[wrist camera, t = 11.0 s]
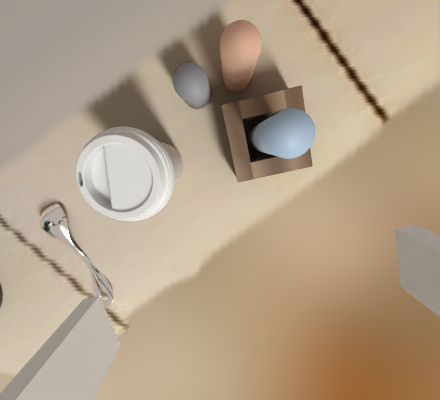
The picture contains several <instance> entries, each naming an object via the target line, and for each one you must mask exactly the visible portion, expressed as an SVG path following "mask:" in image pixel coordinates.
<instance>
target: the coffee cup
mask: <svg viewBox="0 0 440 400" xmlns="http://www.w3.org/2000/svg"><path fill="white" fill-rule="evenodd" d="M182 169H183V162H182V158H181V155H180V154H179V152H178V151H177V150H176V149H175V148H174V147H173V146H171V145H169V144H166V143H163V142H160V141H157V140H156V139H155V138H154V137H153V136H151V135H150V134H148V133H146V132H144V131H142V130H140V129H137V128H133V127H124V126H122V127H113V128H110V129H107V130H104V131H102V132H100V133H99V134H97V135H96V136H94V137H93V138H92V139H91V140H90V141H89V142H88V143H87V145H86V146H85V147H84V149H83V151H82V153H81V154H80V156H79V159H78V162H77V167H76V178H77V183H78V187H79V189H80V191H81V193H82V195H83V197H84V198H85V200H86V201H87V202H88V203H89V205H90V206H92V207H93V208H94V209H95V210H96V211H98V212H99V213H101V214H103V215H105V216H108V217H111V218H114V219H117V220H123V221H137V220H142V219H146V218H149V217H151V216H153V215H155V214H156V213H158V212H159V211H160V210H161V209H162V208H163V207H164V206H165V205H166V203H167V202H168V200H169V199H170V196H171V194H172V191H173V187H174V184H175V182H176V181H177V179H178V178H179V177H180V175H181V173H182Z"/></svg>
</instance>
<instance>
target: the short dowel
mask: <svg viewBox="0 0 440 400" xmlns="http://www.w3.org/2000/svg"><path fill="white" fill-rule="evenodd" d="M173 86H174V89H175V91H176V92H177V94H178V95H179V96H180V97H181V98H182V99H183V100H184V101H185V102H186V103H187V104H188V105H189V106H190V107H192V108H195V109H200V108H203V107H205V106H206V105H207V104H208V103H209V101H210V99H211V89H210V86H209V82H208V79H207V75H206V73H205V71H204V69H203V68H202V67H201V66H200V65H198V64H196V63H193V62H186V63H183V64H181V65H180V66H179V67H178V68H177V69H176V71H175V73H174V76H173Z"/></svg>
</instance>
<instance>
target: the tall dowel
mask: <svg viewBox="0 0 440 400" xmlns="http://www.w3.org/2000/svg"><path fill="white" fill-rule="evenodd" d="M314 137H315V126H314V123H313V121H312V119H311V117H310V116H309V115H308V114H307V113H306V112H304V111H302V110H300V109H295V108H289V109H285V110H282V111H280V112H278V113H277V114H275V115H273V116H272V117H270V118H268V119H266V120H265V121H263V122H261V123H259V124H258V125H256V126H254V127H253V128H252V129H251V131H250V133H249V143H250V145H251V146H252V148H253V149H255V150H257V151H260V152H264V153H267V154H271V155H274V156H278V157H281V158H286V159H292V158H296V157H299V156H301V155H303V154H304V153H305V152H306V151H307V150H308V149H309V148H310V147H311V145H312V143H313V141H314Z"/></svg>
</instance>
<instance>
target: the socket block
mask: <svg viewBox="0 0 440 400" xmlns="http://www.w3.org/2000/svg"><path fill="white" fill-rule="evenodd" d="M221 106H222V112H223V116H224V121H225V126H226V131H227V135H228V140H229V145H230V150H231V154H232V159H233V164H234V169H235V173H236V178H237V182H242V181H247V180H251V179H256V178H260V177H265V176H270V175H274V174H279V173H283V172H288V171H293V170H297V169H302V168H307V167H311V166H312V159H311V152H310V148H309V149H308V150H307V151H306V152H305V153H304V154H303V155H301V156H299V157H296V158H292V159H286V158H281V157H278V156H274V155H268V156H263V157H259V158H254V159H250V157H249V152H248V146H247V141H246V136H245V131H244V126H243V122H244V121H249V120H253V119H257V118H261V117H265V116H270V115H274V114H277V113H278V112H280V111H282V110H285V109H289V108H295V109H300V110H302V111H304V112H305V107H304V99H303V92H302V85H301V86H297V87H293V88H289V89H285V90H281V91H277V92H273V93H269V94H265V95H261V96H257V97H253V98H249V99H245V100H241V101H237V102H232V103H228V104H224V105H221Z"/></svg>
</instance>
